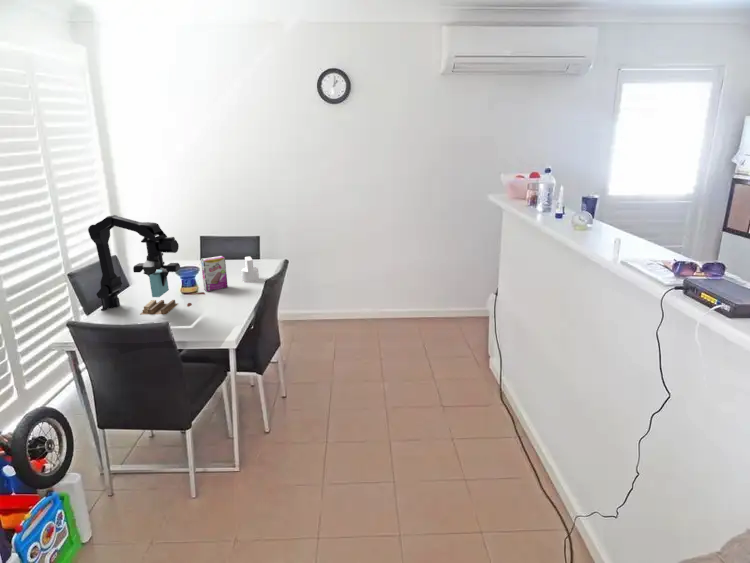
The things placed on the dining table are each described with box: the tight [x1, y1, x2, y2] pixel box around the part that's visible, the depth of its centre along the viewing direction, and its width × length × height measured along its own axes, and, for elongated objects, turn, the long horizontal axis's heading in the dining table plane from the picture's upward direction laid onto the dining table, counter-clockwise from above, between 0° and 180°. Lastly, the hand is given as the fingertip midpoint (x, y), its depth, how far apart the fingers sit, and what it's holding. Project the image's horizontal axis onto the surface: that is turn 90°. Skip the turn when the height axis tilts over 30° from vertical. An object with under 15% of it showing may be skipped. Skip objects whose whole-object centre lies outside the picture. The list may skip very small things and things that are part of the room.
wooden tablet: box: [186, 291, 206, 308], centre depth 240 cm, size 27×10×2 cm, turn 19°
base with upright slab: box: [240, 256, 260, 283], centre depth 270 cm, size 9×9×12 cm
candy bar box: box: [200, 255, 228, 292], centre depth 256 cm, size 11×5×16 cm, turn 126°
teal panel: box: [148, 270, 170, 298], centre depth 224 cm, size 3×10×10 cm, turn 179°
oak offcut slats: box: [141, 299, 158, 313], centre depth 227 cm, size 3×10×2 cm, turn 179°
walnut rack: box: [139, 299, 180, 316], centre depth 227 cm, size 12×14×3 cm
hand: (159, 286), depth 224 cm, fingers closed on teal panel, 3 cm apart
